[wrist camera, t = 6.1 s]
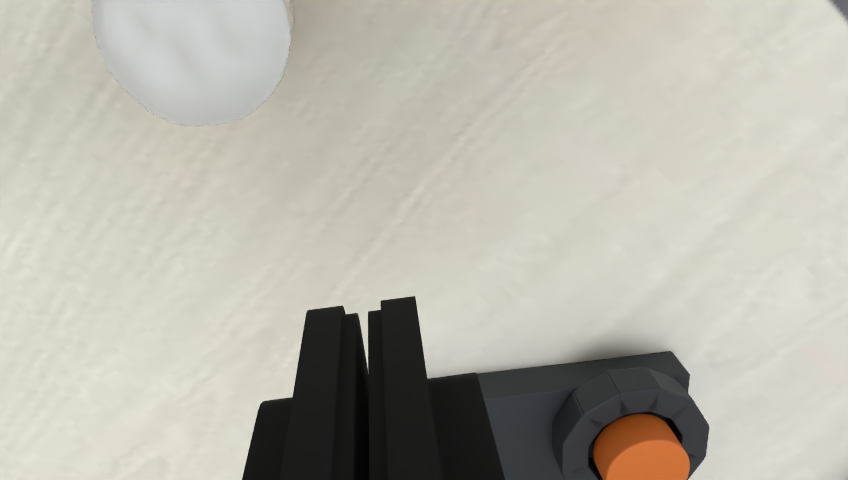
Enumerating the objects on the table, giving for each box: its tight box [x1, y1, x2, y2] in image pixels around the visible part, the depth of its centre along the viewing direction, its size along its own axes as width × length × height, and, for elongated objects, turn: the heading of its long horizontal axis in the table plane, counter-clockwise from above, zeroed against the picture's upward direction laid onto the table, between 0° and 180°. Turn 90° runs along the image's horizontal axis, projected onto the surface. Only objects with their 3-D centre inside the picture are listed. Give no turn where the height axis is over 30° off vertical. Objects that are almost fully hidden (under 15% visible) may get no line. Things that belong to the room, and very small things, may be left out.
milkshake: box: [92, 0, 294, 127], centre depth 18 cm, size 4×5×10 cm
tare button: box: [593, 414, 690, 480], centre depth 28 cm, size 4×4×2 cm
